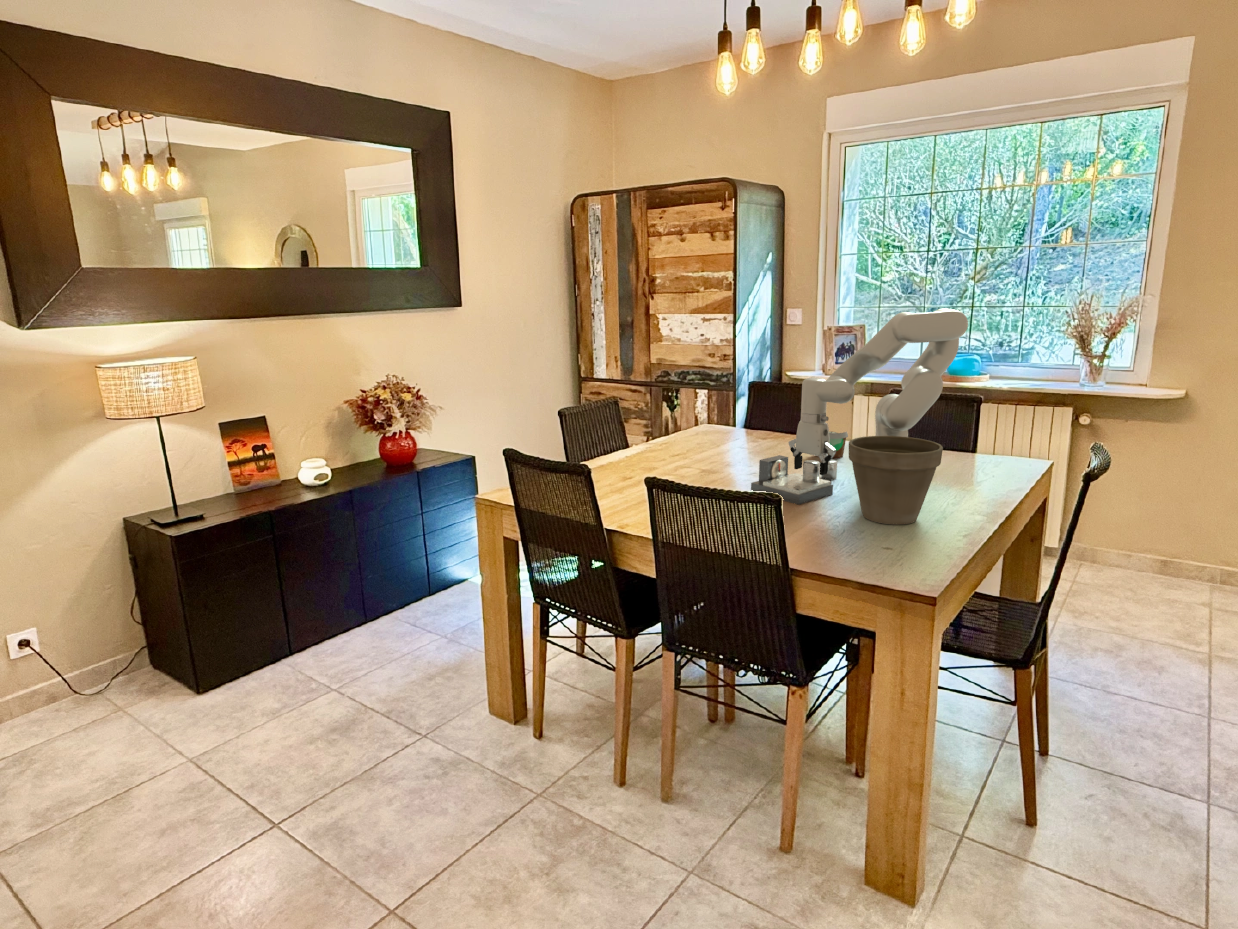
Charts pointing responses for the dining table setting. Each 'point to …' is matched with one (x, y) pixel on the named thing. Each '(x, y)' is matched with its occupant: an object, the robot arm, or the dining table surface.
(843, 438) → the food container
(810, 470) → the cylinder
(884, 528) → the dining table surface
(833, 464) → the steel spacer
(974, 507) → the dining table surface
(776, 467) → the dial scale
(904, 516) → the plant pot
